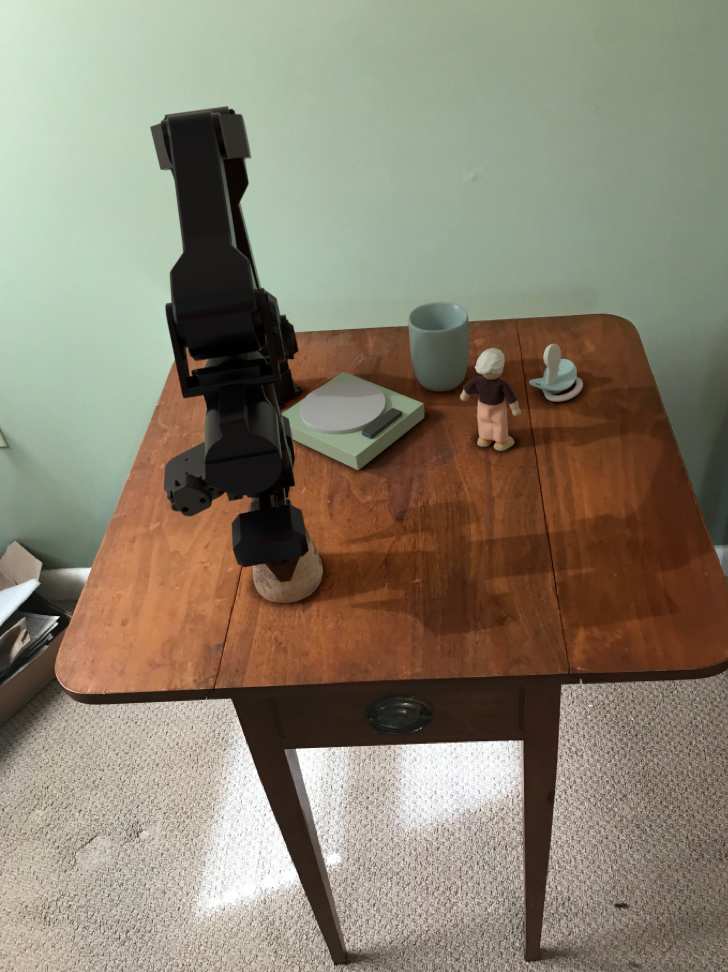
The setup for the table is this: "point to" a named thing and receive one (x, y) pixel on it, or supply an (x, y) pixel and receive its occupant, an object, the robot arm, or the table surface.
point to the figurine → (302, 579)
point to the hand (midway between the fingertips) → (281, 547)
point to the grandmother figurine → (492, 400)
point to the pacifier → (557, 376)
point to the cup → (439, 345)
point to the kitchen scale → (352, 419)
